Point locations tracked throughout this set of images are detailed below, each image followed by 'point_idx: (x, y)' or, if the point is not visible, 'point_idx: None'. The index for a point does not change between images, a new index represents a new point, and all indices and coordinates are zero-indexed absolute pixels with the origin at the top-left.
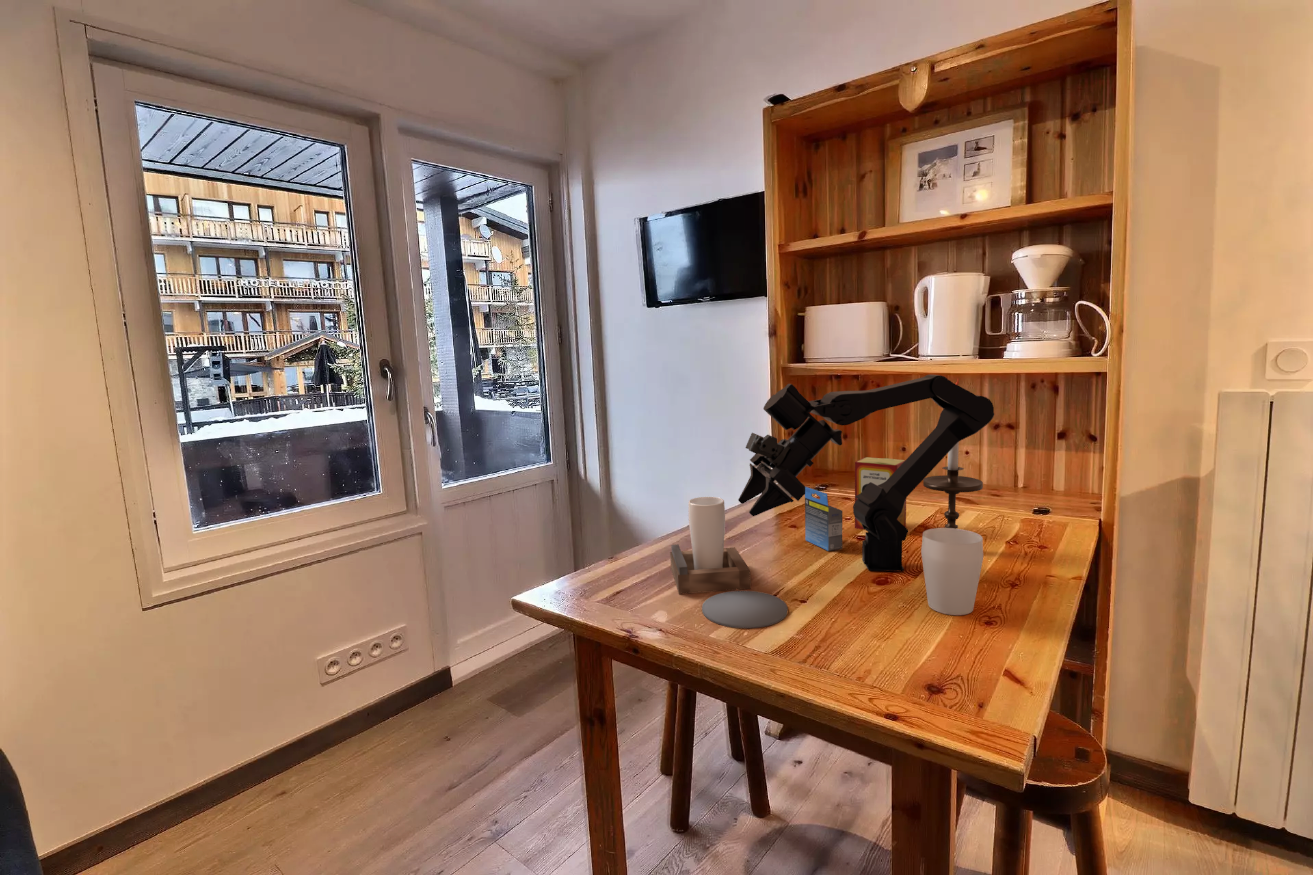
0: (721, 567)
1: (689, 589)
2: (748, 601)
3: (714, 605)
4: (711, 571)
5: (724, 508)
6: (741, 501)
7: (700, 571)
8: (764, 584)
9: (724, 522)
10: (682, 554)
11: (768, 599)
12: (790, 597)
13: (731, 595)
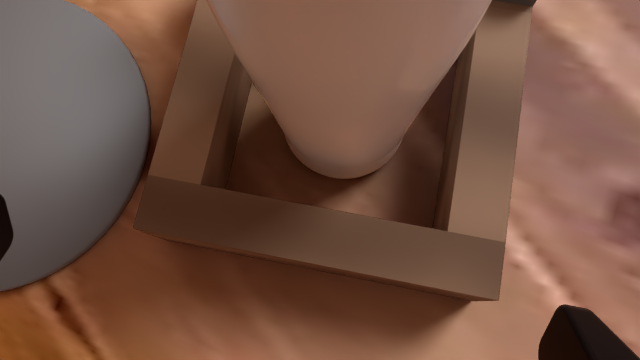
0: (295, 148)
1: None
2: (25, 165)
3: (56, 42)
4: (196, 57)
5: (255, 12)
6: (550, 340)
7: None
8: (182, 316)
9: (255, 66)
10: None
11: None
12: (8, 354)
13: (108, 129)
